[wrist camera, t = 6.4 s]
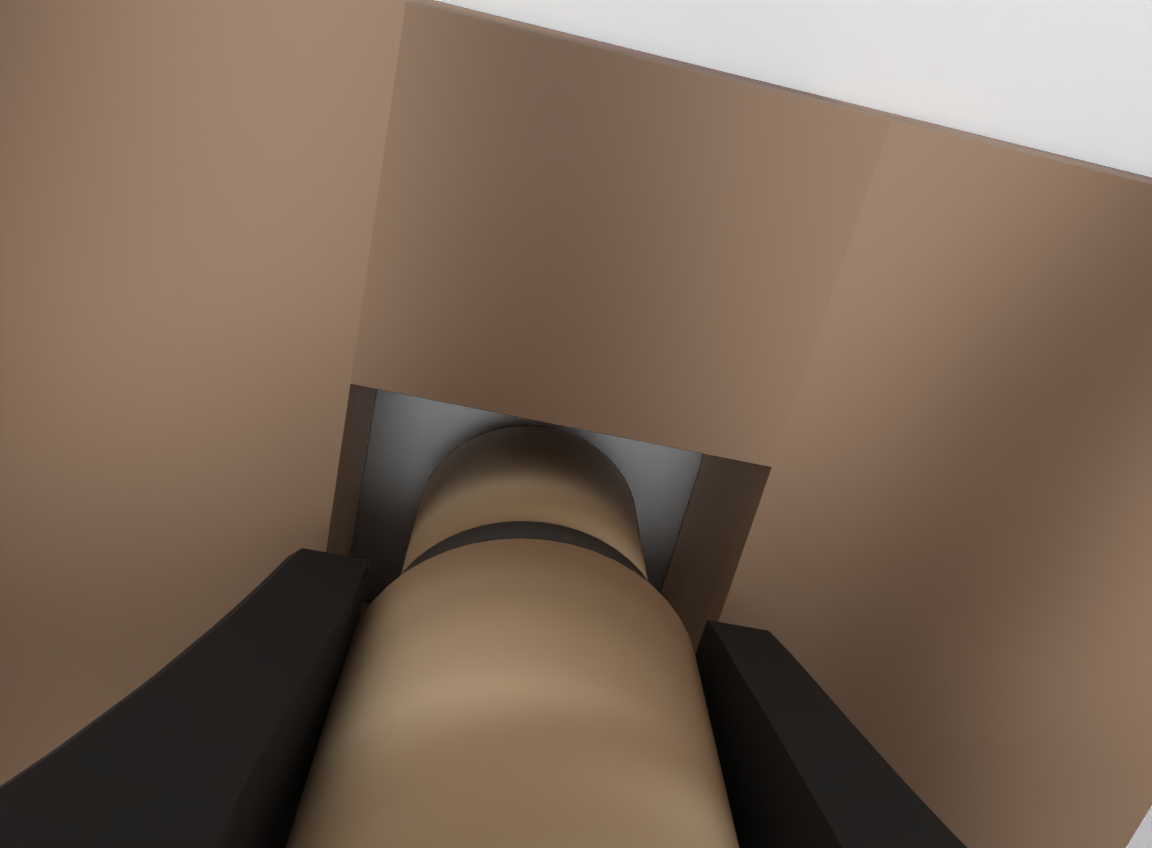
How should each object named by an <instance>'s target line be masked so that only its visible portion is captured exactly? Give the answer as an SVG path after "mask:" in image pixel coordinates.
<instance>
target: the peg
mask: <svg viewBox="0 0 1152 848" xmlns="http://www.w3.org/2000/svg"><path fill="white" fill-rule="evenodd" d="M286 848H739V843H738V839H737V835H736V830H735V826H734V822H733V817H732V813H731V809H730V804H729V800H728V795H727V791H726V787H725V782H724V778H723V774H722V769H721V765H720V761H719V756H718V752H717V747H716V743H715V739H714V734H713V730H712V726H711V721H710V717H709V713H708V708H707V704H706V699H705V695H704V691H703V686H702V682H701V678H700V673H699V669H698V665H697V660H696V656H695V652H694V649H693V646H692V643H691V640H690V637H689V635H688V633H687V631H686V629H685V627H684V625H683V623H682V621H681V619H680V618H679V616H678V615H677V613H676V612H675V611H674V609H673V608H672V606H671V605H670V604H669V602H668V601H667V600H666V599H665V598H664V597H663V596H662V595H661V594H660V593H659V592H658V591H657V590H656V589H655V588H654V587H653V586H652V585H651V584H650V583H649V581H648V578H647V573H646V567H645V561H644V556H643V550H642V544H641V539H640V533H639V527H638V522H637V516H636V510H635V505H634V500H633V497H632V494H631V491H630V488H629V486H628V485H627V483H626V481H625V479H624V477H623V475H622V474H621V473H620V471H619V470H618V468H617V467H616V466H615V465H614V464H613V463H612V461H611V460H610V459H609V458H608V457H607V456H606V455H604V454H603V453H602V452H601V451H600V450H598V449H597V448H596V447H594V446H593V445H591V444H589V443H588V442H586V441H585V440H583V439H580V438H578V437H576V436H574V435H572V434H569V433H566V432H563V431H559V430H556V429H550V428H545V427H536V426H517V427H508V428H502V429H497V430H494V431H490V432H487V433H484V434H481V435H479V436H477V437H475V438H473V439H470V440H469V441H467V442H465V443H464V444H462V445H460V446H459V447H457V448H456V449H455V450H454V451H452V452H451V453H450V454H449V455H447V456H446V457H445V458H444V460H443V461H442V462H441V463H440V464H439V465H438V466H437V467H436V469H435V470H434V472H433V473H432V474H431V476H430V477H429V479H428V481H427V483H426V485H425V487H424V490H423V493H422V496H421V499H420V502H419V506H418V510H417V514H416V518H415V522H414V526H413V529H412V533H411V537H410V541H409V545H408V549H407V553H406V557H405V561H404V565H403V569H402V573H401V575H400V576H399V577H398V578H397V579H396V580H395V581H393V582H392V583H391V584H389V585H388V586H387V587H386V588H385V589H384V590H383V591H382V592H381V593H380V594H379V595H378V596H377V597H376V598H375V599H374V600H373V601H372V603H371V604H370V606H369V607H368V608H367V610H366V611H365V613H364V614H363V615H362V617H361V618H360V620H359V622H358V624H357V626H356V628H355V630H354V633H353V636H352V639H351V642H350V646H349V649H348V652H347V656H346V659H345V662H344V665H343V669H342V672H341V675H340V678H339V681H338V684H337V687H336V689H335V692H334V695H333V698H332V700H331V703H330V706H329V709H328V713H327V716H326V719H325V722H324V725H323V728H322V732H321V735H320V738H319V741H318V744H317V747H316V751H315V754H314V757H313V760H312V764H311V767H310V770H309V773H308V777H307V780H306V783H305V786H304V790H303V793H302V796H301V799H300V803H299V806H298V809H297V812H296V816H295V819H294V822H293V825H292V828H291V832H290V835H289V838H288V841H287V845H286Z"/></svg>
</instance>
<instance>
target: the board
mask: <svg viewBox="0 0 1152 848" xmlns="http://www.w3.org/2000/svg"><path fill="white" fill-rule="evenodd" d="M377 389H380V390H385V391H390V392H395V393H400V394H405V395H410V396H415V397H420V398H426V399H431V400H436V401H441V402H446V403H451V404H456V405H461V406H466V407H471V408H476V409H481V410H486V411H491V412H496V413H501V414H506V415H511V416H516V417H521V418H526V419H532V420H537V421H542V422H547V423H552V424H557V425H562V426H567V427H572V428H577V429H582V430H587V431H592V432H597V433H602V434H607V435H612V436H617V437H622V438H627V439H632V440H637V441H643V442H648V443H653V444H658V445H663V446H668V447H673V448H678V449H683V450H688V451H693V452H698V453H703V454H704V456H703V459H702V463H701V466H700V469H699V472H698V475H697V479H696V482H695V485H694V488H693V491H692V495H691V498H690V501H689V504H688V507H687V511H686V514H685V517H684V520H683V523H682V527H681V530H680V533H679V536H678V539H677V543H676V546H675V549H674V552H673V555H672V559H671V562H670V565H669V568H668V571H667V575H666V578H665V581H664V584H663V587H662V591H661V595H662V596H663V597H664V598H665V599H666V600H667V601H668V602H669V604H670V605H671V606H672V608H673V609H674V611H675V612H676V613H677V615H678V616H679V618H680V619H681V621H682V623H683V625H684V627H685V629H686V631H687V633H688V635H689V637H690V640H691V643H692V646H693V649H694V652H695V654H696V651H697V648H698V645H699V642H700V639H701V636H702V633H703V630H704V628H705V625H706V622H707V620H711V621H717V622H723V623H728V624H734V625H740V626H745V627H751V628H756V629H762V630H768V631H770V632H771V633H772V634H773V635H774V636H775V637H776V638H777V639H778V640H779V641H780V642H781V643H782V645H783V646H784V647H785V648H786V649H787V650H788V651H789V652H790V653H791V654H792V655H793V656H794V658H795V659H796V660H797V661H798V662H799V663H800V664H801V665H802V666H803V668H804V669H805V670H806V671H807V672H808V673H809V674H810V675H811V677H812V678H813V679H814V680H815V681H816V682H817V683H818V685H819V686H820V687H821V688H822V689H823V690H824V691H825V693H826V694H827V695H828V696H829V697H830V698H831V699H832V701H833V702H834V703H835V704H836V705H837V706H838V707H839V709H840V710H841V711H842V712H843V713H844V714H845V715H846V717H847V718H848V719H849V720H850V721H851V722H852V723H853V725H854V726H855V727H856V728H857V729H858V730H859V731H860V732H861V734H862V735H863V736H864V737H865V738H866V739H867V740H868V741H869V743H870V744H871V745H872V746H873V747H874V748H875V749H876V750H877V752H878V753H879V754H880V755H881V756H882V757H883V758H884V759H885V760H886V762H887V763H888V764H889V765H890V766H891V767H892V768H893V769H894V770H895V771H896V773H897V774H898V775H899V776H900V777H901V778H902V779H903V780H904V781H905V783H906V784H907V785H908V786H909V787H910V788H911V789H912V790H913V791H914V792H915V793H916V794H917V795H918V797H919V798H920V799H921V800H922V801H923V802H924V803H925V804H926V805H927V806H928V807H929V808H930V809H931V810H932V811H933V813H934V814H935V815H936V816H937V817H938V818H939V819H940V820H941V821H942V822H943V823H944V824H945V825H946V826H947V827H948V828H949V829H950V830H951V831H952V833H953V834H954V835H955V836H956V837H957V838H958V839H959V840H960V841H961V842H962V843H963V844H964V845H965V846H966V847H967V848H1125V847H1126V846H1127V844H1128V843H1129V841H1130V839H1131V838H1132V836H1133V834H1134V833H1135V831H1136V830H1137V828H1138V826H1139V825H1140V823H1141V822H1142V820H1143V818H1144V817H1145V815H1146V813H1147V812H1148V810H1149V809H1150V807H1151V805H1152V178H1150V177H1146V176H1142V175H1138V174H1134V173H1130V172H1126V171H1122V170H1118V169H1114V168H1110V167H1106V166H1102V165H1098V164H1094V163H1090V162H1086V161H1082V160H1078V159H1074V158H1070V157H1065V156H1061V155H1057V154H1053V153H1049V152H1045V151H1041V150H1037V149H1033V148H1029V147H1025V146H1021V145H1017V144H1013V143H1009V142H1005V141H1001V140H997V139H993V138H989V137H985V136H980V135H976V134H972V133H968V132H964V131H960V130H956V129H952V128H948V127H944V126H940V125H936V124H932V123H928V122H924V121H920V120H916V119H912V118H908V117H904V116H900V115H896V114H891V113H887V112H883V111H879V110H875V109H871V108H867V107H863V106H859V105H855V104H851V103H847V102H843V101H839V100H835V99H831V98H827V97H823V96H819V95H815V94H811V93H806V92H802V91H798V90H794V89H790V88H786V87H782V86H778V85H774V84H770V83H766V82H762V81H758V80H754V79H750V78H746V77H742V76H738V75H734V74H730V73H726V72H721V71H717V70H713V69H709V68H705V67H701V66H697V65H693V64H689V63H685V62H681V61H677V60H673V59H669V58H665V57H661V56H657V55H653V54H649V53H645V52H641V51H637V50H632V49H628V48H624V47H620V46H616V45H612V44H608V43H604V42H600V41H596V40H592V39H588V38H584V37H580V36H576V35H572V34H568V33H564V32H560V31H556V30H552V29H547V28H543V27H539V26H535V25H531V24H527V23H523V22H519V21H515V20H511V19H507V18H503V17H499V16H495V15H491V14H487V13H483V12H479V11H475V10H471V9H467V8H463V7H458V6H454V5H450V4H446V3H442V2H438V1H434V0H0V786H1V785H3V784H4V783H6V782H7V781H9V780H10V779H12V778H13V777H15V776H16V775H18V774H19V773H20V772H22V771H23V770H25V769H26V768H28V767H29V766H31V765H32V764H34V763H35V762H37V761H38V760H40V759H41V758H43V757H44V756H46V755H47V754H48V753H50V752H51V751H53V750H54V749H56V748H57V747H58V746H60V745H61V744H62V743H64V742H65V741H67V740H68V739H69V738H71V737H72V736H73V735H75V734H76V733H77V732H79V731H80V730H81V729H83V728H84V727H86V726H87V725H88V724H90V723H91V722H92V721H94V720H95V719H96V718H98V717H99V716H100V715H102V714H103V713H105V712H106V711H107V710H109V709H110V708H111V707H113V706H114V705H115V704H117V703H118V702H119V701H121V700H122V699H124V698H125V697H126V696H128V695H129V694H130V693H132V692H133V691H134V690H136V689H137V688H138V687H140V686H141V685H142V684H143V683H145V682H146V681H147V680H148V679H150V678H151V677H152V676H154V675H155V674H156V673H157V672H158V671H160V670H161V669H162V668H163V667H164V666H166V665H167V664H168V663H169V662H171V661H172V660H173V659H174V658H175V657H177V656H178V655H179V654H180V653H181V652H183V651H184V650H185V649H186V648H187V647H189V646H190V645H191V644H192V643H193V642H195V641H196V640H197V639H198V638H200V637H201V636H202V635H203V634H204V633H206V632H207V631H208V630H209V629H210V628H212V627H213V626H214V625H215V624H216V623H217V622H218V621H219V620H221V619H222V618H223V617H224V616H225V615H226V614H227V613H228V612H230V611H231V610H232V609H233V608H234V607H235V606H236V605H237V604H239V603H240V602H241V601H242V600H243V599H244V598H245V597H246V596H247V595H248V594H250V593H251V592H252V591H253V590H254V589H255V588H256V587H257V586H258V585H259V584H260V583H261V582H262V581H263V580H264V579H265V578H266V577H268V576H269V575H270V574H271V573H272V572H273V571H274V570H275V569H276V568H277V567H278V566H279V565H280V564H281V563H282V562H283V561H284V560H285V559H286V558H287V557H288V556H289V555H291V554H293V553H294V552H296V551H298V550H299V549H301V548H305V549H311V550H317V551H322V552H328V553H333V554H339V555H345V556H351V549H352V543H353V537H354V530H355V524H356V518H357V511H358V505H359V499H360V492H361V486H362V480H363V473H364V467H365V461H366V454H367V448H368V442H369V435H370V429H371V423H372V416H373V410H374V404H375V397H376V391H377ZM370 604H371V603H367V602H362V606H361V612H360V618H361V617H362V615H363V614H364V613H365V611H366V610H367V608H368V607H369V606H370ZM360 618H359V620H360Z"/></svg>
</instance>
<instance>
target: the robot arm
mask: <svg viewBox="0 0 1152 848" xmlns="http://www.w3.org/2000/svg"><path fill="white" fill-rule="evenodd" d="M368 564H369V560H367V559H362V558H356V557H350V556H345V555H339V554H333V553H328V552H322V551H317V550H311V549H305V548H301V549H299V550H298V551H296V552H294V553H293V554H291V555H289V556H288V557H287V558H286V559H285V560H284V561H283V562H282V563H281V564H280V565H279V566H278V567H277V568H276V569H275V570H274V571H273V572H272V573H271V574H270V575H269V576H268V577H266V578H265V579H264V580H263V581H262V582H261V583H260V584H259V585H258V586H257V587H256V588H255V589H254V590H253V591H252V592H251V593H250V594H248V595H247V596H246V597H245V598H244V599H243V600H242V601H241V602H240V603H239V604H237V605H236V606H235V607H234V608H233V609H232V610H231V611H230V612H228V613H227V614H226V615H225V616H224V617H223V618H222V619H221V620H219V621H218V622H217V623H216V624H215V625H214V626H213V627H212V628H210V629H209V630H208V631H207V632H206V633H204V634H203V635H202V636H201V637H200V638H198V639H197V640H196V641H195V642H193V643H192V644H191V645H190V646H189V647H187V648H186V649H185V650H184V651H183V652H181V653H180V654H179V655H178V656H177V657H175V658H174V659H173V660H172V661H171V662H169V663H168V664H167V665H166V666H164V667H163V668H162V669H161V670H160V671H158V672H157V673H156V674H155V675H154V676H152V677H151V678H150V679H148V680H147V681H146V682H145V683H143V684H142V685H141V686H140V687H138V688H137V689H136V690H134V691H133V692H132V693H130V694H129V695H128V696H126V697H125V698H124V699H122V700H121V701H119V702H118V703H117V704H115V705H114V706H113V707H111V708H110V709H109V710H107V711H106V712H105V713H103V714H102V715H100V716H99V717H98V718H96V719H95V720H94V721H92V722H91V723H90V724H88V725H87V726H86V727H84V728H83V729H81V730H80V731H79V732H77V733H76V734H75V735H73V736H72V737H71V738H69V739H68V740H67V741H65V742H64V743H62V744H61V745H60V746H58V747H57V748H56V749H54V750H53V751H51V752H50V753H48V754H47V755H46V756H44V757H43V758H41V759H40V760H38V761H37V762H35V763H34V764H32V765H31V766H29V767H28V768H26V769H25V770H23V771H22V772H20V773H19V774H18V775H16V776H15V777H13V778H12V779H10V780H9V781H7V782H6V783H4V784H3V785H1V786H0V848H286V845H287V841H288V838H289V835H290V832H291V828H292V825H293V822H294V819H295V816H296V812H297V809H298V806H299V803H300V799H301V796H302V793H303V790H304V786H305V783H306V780H307V777H308V773H309V770H310V767H311V764H312V760H313V757H314V754H315V751H316V747H317V744H318V741H319V738H320V735H321V732H322V728H323V725H324V722H325V719H326V716H327V713H328V709H329V706H330V703H331V700H332V698H333V695H334V692H335V689H336V687H337V684H338V681H339V678H340V675H341V672H342V669H343V665H344V662H345V659H346V656H347V652H348V649H349V646H350V642H351V639H352V636H353V633H354V630H355V628H356V626H357V624H358V622H359V618H360V612H361V606H362V600H363V594H364V588H365V582H366V576H367V570H368ZM695 656H696V660H697V665H698V669H699V673H700V678H701V682H702V686H703V691H704V695H705V699H706V704H707V708H708V713H709V717H710V721H711V726H712V730H713V734H714V739H715V743H716V747H717V752H718V756H719V761H720V765H721V769H722V774H723V778H724V782H725V787H726V791H727V795H728V800H729V804H730V809H731V813H732V817H733V822H734V826H735V830H736V835H737V839H738V843H739V848H967V847H966V846H965V845H964V844H963V843H962V842H961V841H960V840H959V839H958V838H957V837H956V836H955V835H954V834H953V833H952V831H951V830H950V829H949V828H948V827H947V826H946V825H945V824H944V823H943V822H942V821H941V820H940V819H939V818H938V817H937V816H936V815H935V814H934V813H933V811H932V810H931V809H930V808H929V807H928V806H927V805H926V804H925V803H924V802H923V801H922V800H921V799H920V798H919V797H918V795H917V794H916V793H915V792H914V791H913V790H912V789H911V788H910V787H909V786H908V785H907V784H906V783H905V781H904V780H903V779H902V778H901V777H900V776H899V775H898V774H897V773H896V771H895V770H894V769H893V768H892V767H891V766H890V765H889V764H888V763H887V762H886V760H885V759H884V758H883V757H882V756H881V755H880V754H879V753H878V752H877V750H876V749H875V748H874V747H873V746H872V745H871V744H870V743H869V741H868V740H867V739H866V738H865V737H864V736H863V735H862V734H861V732H860V731H859V730H858V729H857V728H856V727H855V726H854V725H853V723H852V722H851V721H850V720H849V719H848V718H847V717H846V715H845V714H844V713H843V712H842V711H841V710H840V709H839V707H838V706H837V705H836V704H835V703H834V702H833V701H832V699H831V698H830V697H829V696H828V695H827V694H826V693H825V691H824V690H823V689H822V688H821V687H820V686H819V685H818V683H817V682H816V681H815V680H814V679H813V678H812V677H811V675H810V674H809V673H808V672H807V671H806V670H805V669H804V668H803V666H802V665H801V664H800V663H799V662H798V661H797V660H796V659H795V658H794V656H793V655H792V654H791V653H790V652H789V651H788V650H787V649H786V648H785V647H784V646H783V645H782V643H781V642H780V641H779V640H778V639H777V638H776V637H775V636H774V635H773V634H772V633H771V632H770V631H768V630H762V629H756V628H751V627H745V626H740V625H734V624H728V623H723V622H717V621H711V620H707V622H706V625H705V628H704V630H703V633H702V636H701V639H700V642H699V645H698V648H697V651H696V654H695Z"/></svg>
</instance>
